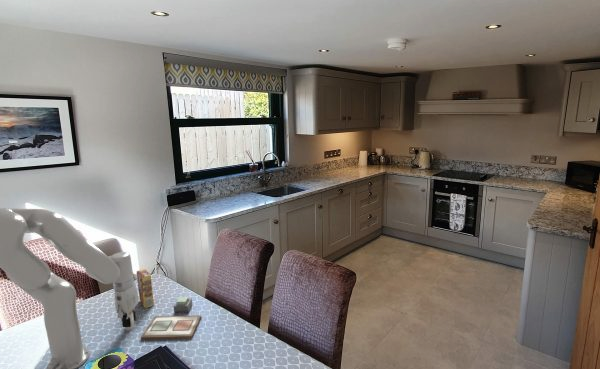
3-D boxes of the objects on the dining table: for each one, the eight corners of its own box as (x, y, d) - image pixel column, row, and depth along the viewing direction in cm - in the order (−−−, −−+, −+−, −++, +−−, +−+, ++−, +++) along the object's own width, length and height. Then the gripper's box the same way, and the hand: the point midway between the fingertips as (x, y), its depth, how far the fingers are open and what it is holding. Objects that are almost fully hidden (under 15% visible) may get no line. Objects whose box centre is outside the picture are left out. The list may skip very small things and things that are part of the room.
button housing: (188, 313, 154) (187, 305, 154) (174, 313, 154) (173, 306, 154) (192, 305, 160) (191, 298, 160) (178, 305, 160) (178, 298, 160)
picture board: (191, 338, 137) (191, 335, 136) (140, 340, 137) (140, 336, 136) (201, 317, 150) (201, 314, 150) (155, 318, 150) (154, 316, 150)
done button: (186, 306, 155) (185, 301, 154) (177, 306, 155) (176, 301, 154) (188, 301, 159) (188, 296, 158) (180, 301, 159) (179, 297, 158)
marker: (132, 330, 143) (129, 310, 141) (123, 330, 143) (120, 311, 141) (136, 325, 146) (133, 306, 144) (128, 325, 146) (125, 306, 144)
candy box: (154, 305, 161) (151, 275, 158) (145, 308, 158) (141, 278, 155) (149, 297, 168) (145, 268, 165) (139, 300, 165) (135, 271, 162)
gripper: (122, 293, 132) (129, 336, 136) (141, 273, 148) (147, 311, 152) (103, 293, 132) (109, 336, 136) (124, 273, 148) (129, 312, 152)
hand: (129, 323), depth 144 cm, fingers closed on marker, 3 cm apart
